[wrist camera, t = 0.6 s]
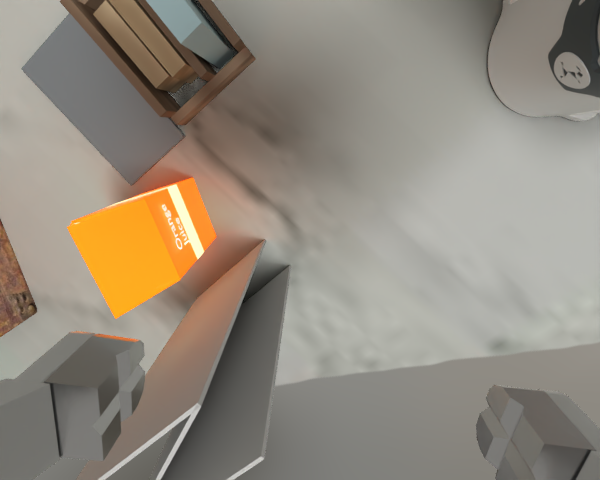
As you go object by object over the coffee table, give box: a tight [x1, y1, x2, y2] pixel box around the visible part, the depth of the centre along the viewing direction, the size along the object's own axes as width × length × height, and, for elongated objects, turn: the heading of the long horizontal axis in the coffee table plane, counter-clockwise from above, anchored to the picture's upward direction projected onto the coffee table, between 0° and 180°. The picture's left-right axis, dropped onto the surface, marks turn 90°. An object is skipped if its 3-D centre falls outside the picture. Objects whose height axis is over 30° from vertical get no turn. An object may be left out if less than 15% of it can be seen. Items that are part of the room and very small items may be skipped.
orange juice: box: [67, 178, 216, 319], centre depth 38 cm, size 8×9×20 cm
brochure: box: [76, 239, 291, 480], centre depth 36 cm, size 14×6×30 cm, turn 132°
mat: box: [22, 13, 185, 185], centre depth 43 cm, size 10×18×1 cm, turn 39°
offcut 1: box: [93, 0, 186, 93], centre depth 39 cm, size 2×9×6 cm, turn 39°
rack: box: [60, 0, 255, 125], centre depth 37 cm, size 12×16×6 cm
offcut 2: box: [109, 0, 198, 84], centre depth 38 cm, size 2×10×6 cm, turn 39°
